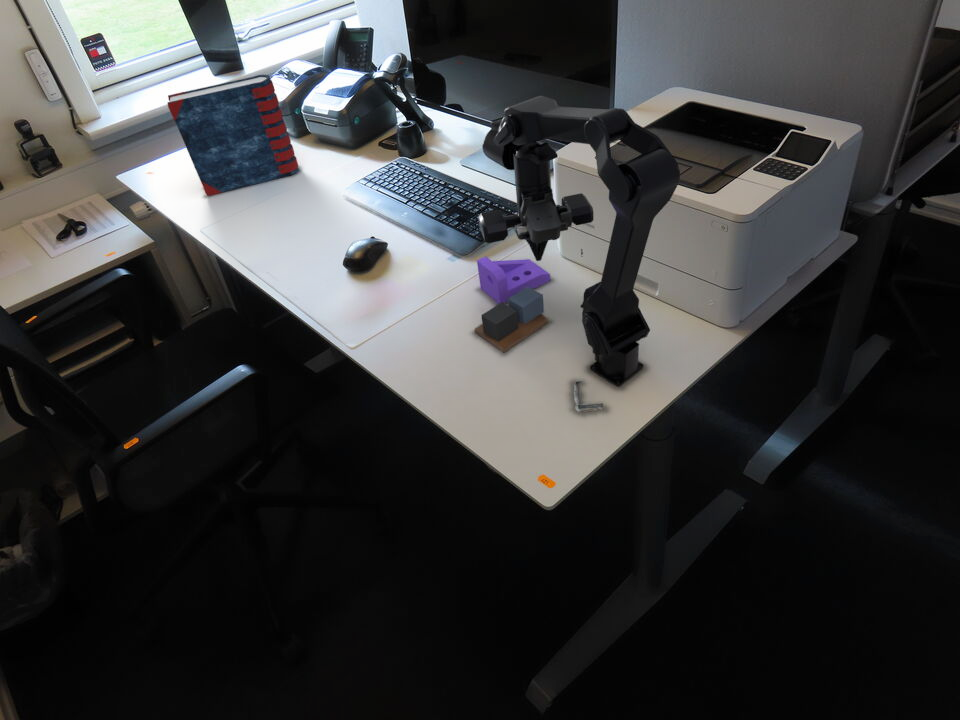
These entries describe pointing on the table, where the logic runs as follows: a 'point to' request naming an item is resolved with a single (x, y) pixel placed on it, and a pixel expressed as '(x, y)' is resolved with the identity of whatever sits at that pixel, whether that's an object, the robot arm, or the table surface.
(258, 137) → the book
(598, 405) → the bent metal strip
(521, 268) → the bracket
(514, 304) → the blue-grey block
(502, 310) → the dark grey cube
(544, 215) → the robot arm
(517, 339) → the brown wooden board
